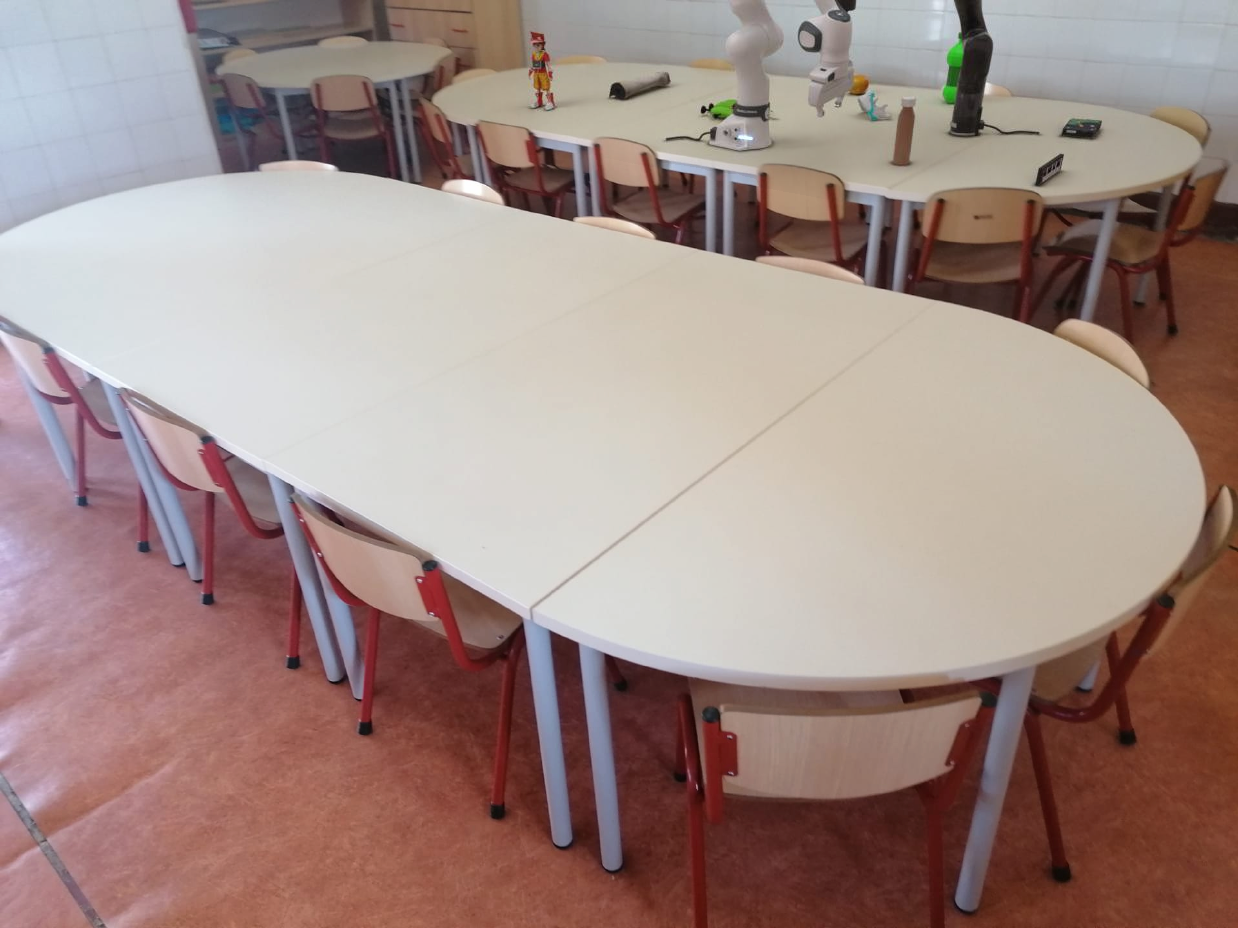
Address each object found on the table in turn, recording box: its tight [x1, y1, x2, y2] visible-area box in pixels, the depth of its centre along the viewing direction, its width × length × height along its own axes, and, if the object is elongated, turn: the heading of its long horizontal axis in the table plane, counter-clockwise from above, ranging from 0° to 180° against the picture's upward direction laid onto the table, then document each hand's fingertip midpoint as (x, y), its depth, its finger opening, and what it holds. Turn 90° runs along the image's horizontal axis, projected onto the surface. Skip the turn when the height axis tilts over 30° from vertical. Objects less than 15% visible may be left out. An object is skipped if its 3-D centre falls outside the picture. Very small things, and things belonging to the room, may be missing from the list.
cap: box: [900, 95, 917, 108], centre depth 284 cm, size 4×4×2 cm
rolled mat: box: [608, 71, 672, 101], centre depth 395 cm, size 30×9×10 cm
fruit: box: [848, 74, 870, 95], centre depth 372 cm, size 8×8×8 cm
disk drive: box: [1061, 117, 1103, 139], centre depth 311 cm, size 10×3×15 cm
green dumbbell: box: [942, 31, 963, 104], centre depth 348 cm, size 10×10×25 cm
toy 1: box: [527, 31, 556, 111], centre depth 374 cm, size 12×9×30 cm
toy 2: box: [700, 99, 777, 120], centre depth 353 cm, size 28×5×30 cm
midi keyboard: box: [1035, 153, 1065, 186], centre depth 273 cm, size 18×1×5 cm, turn 138°
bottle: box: [892, 106, 916, 166], centre depth 289 cm, size 5×5×20 cm
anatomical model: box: [857, 89, 892, 121], centre depth 341 cm, size 15×10×10 cm
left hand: (829, 111), depth 291 cm, fingers open, 8 cm apart
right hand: (841, 46), depth 311 cm, fingers open, 8 cm apart
